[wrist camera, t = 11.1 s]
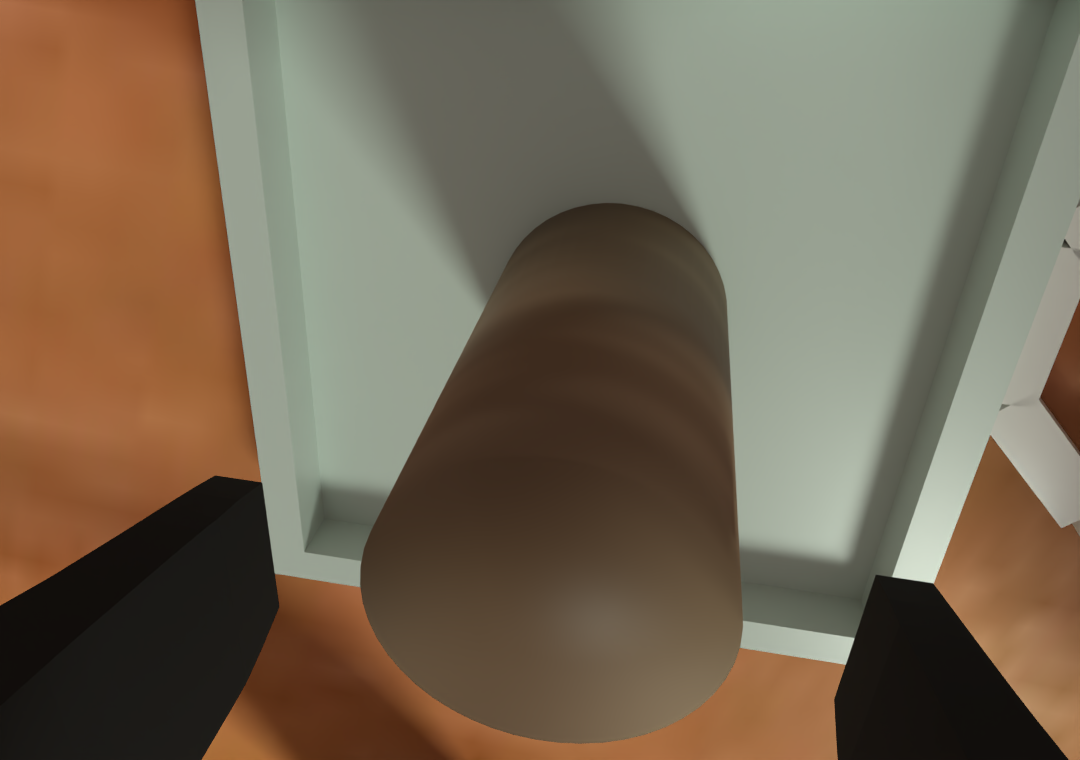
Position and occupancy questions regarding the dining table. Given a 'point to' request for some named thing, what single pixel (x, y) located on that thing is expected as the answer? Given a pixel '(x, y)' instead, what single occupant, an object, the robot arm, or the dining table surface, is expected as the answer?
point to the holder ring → (1024, 419)
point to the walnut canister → (573, 494)
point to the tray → (681, 195)
